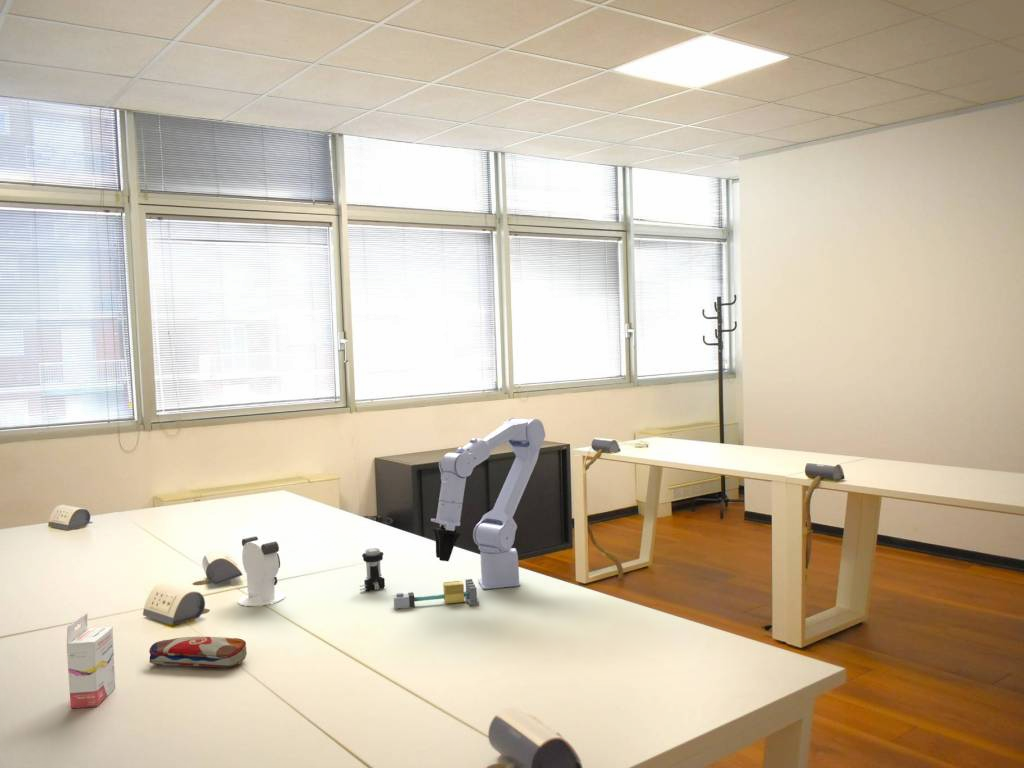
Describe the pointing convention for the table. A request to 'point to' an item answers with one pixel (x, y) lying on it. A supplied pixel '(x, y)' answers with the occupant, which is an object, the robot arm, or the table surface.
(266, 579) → the panda figurine
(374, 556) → the push button
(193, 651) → the pencil case
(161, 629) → the table surface
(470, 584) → the cable comb
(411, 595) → the band
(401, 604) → the connector
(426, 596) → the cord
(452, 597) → the marker sleeve
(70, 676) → the ink cartridge box
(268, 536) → the table surface
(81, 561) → the table surface
